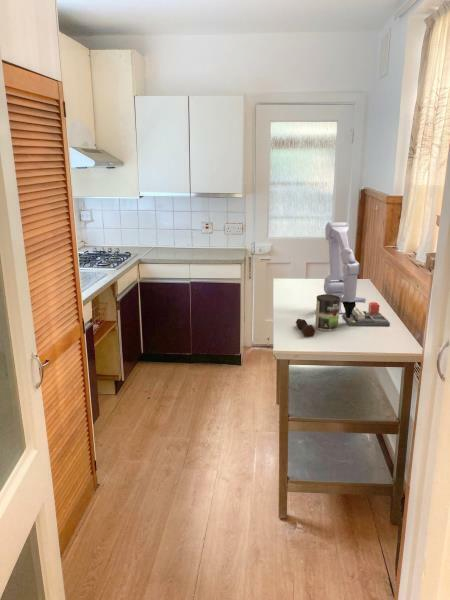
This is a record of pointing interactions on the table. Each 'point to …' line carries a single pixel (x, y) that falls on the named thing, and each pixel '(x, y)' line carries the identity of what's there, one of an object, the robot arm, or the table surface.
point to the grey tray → (367, 320)
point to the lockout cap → (373, 307)
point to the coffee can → (327, 312)
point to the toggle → (355, 310)
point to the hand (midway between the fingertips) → (347, 317)
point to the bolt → (305, 328)
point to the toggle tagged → (360, 315)
